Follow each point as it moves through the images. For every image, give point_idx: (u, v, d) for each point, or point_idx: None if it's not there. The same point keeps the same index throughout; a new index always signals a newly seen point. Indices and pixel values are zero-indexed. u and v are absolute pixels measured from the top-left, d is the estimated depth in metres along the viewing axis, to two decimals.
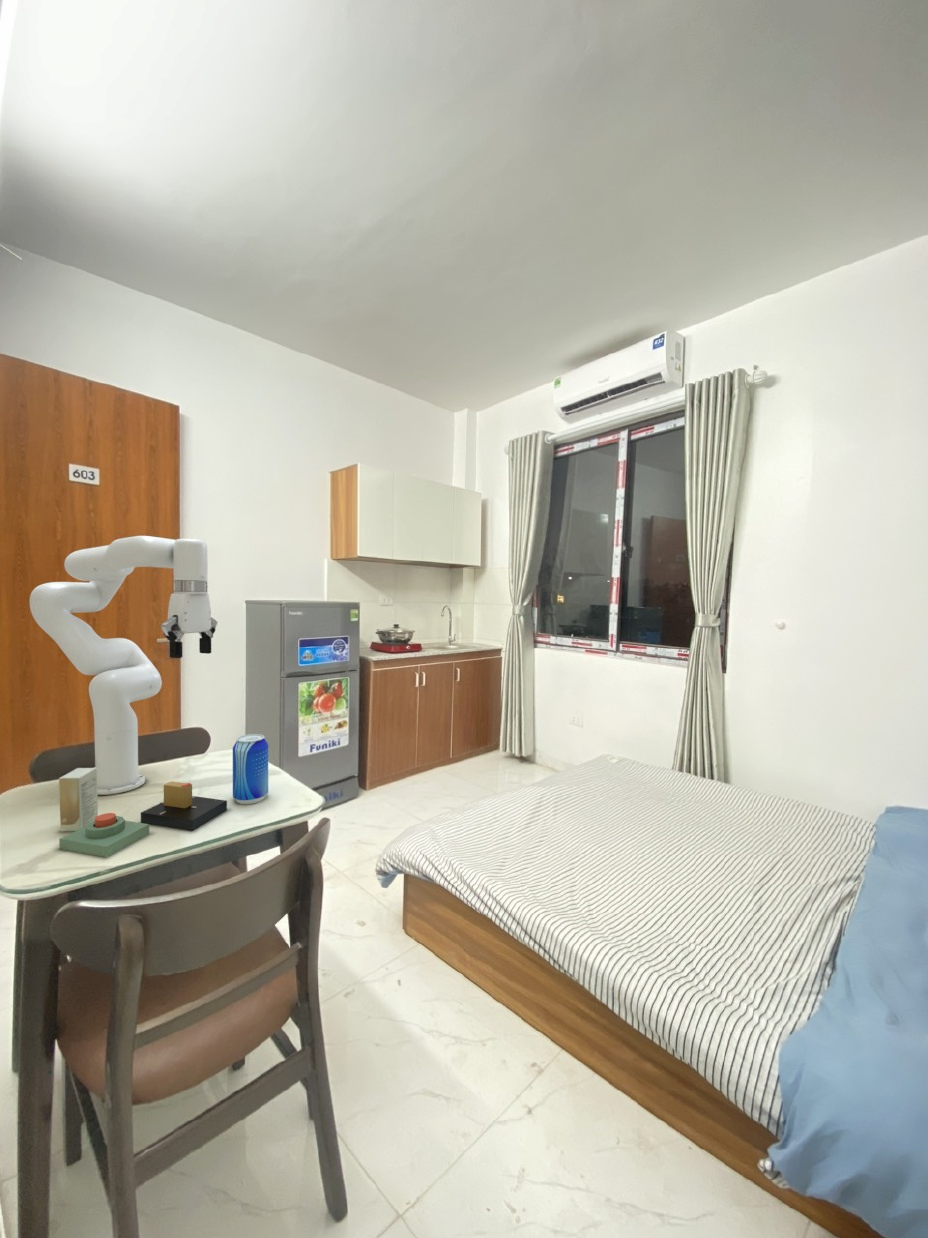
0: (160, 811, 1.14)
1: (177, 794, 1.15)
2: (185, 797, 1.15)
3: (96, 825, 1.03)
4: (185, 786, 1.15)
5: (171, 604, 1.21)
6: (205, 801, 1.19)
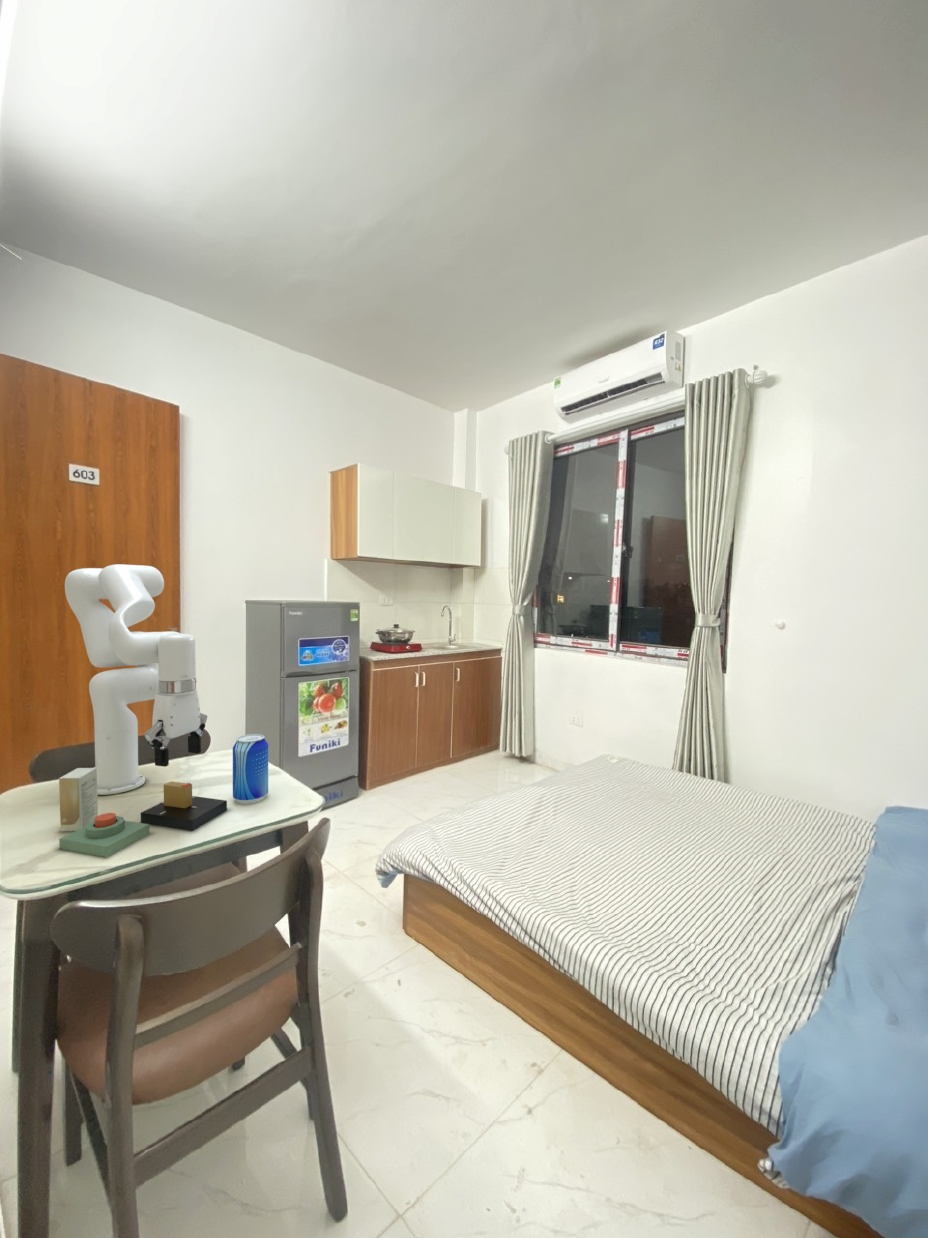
0: (160, 811, 1.14)
1: (177, 794, 1.15)
2: (185, 797, 1.15)
3: (96, 825, 1.03)
4: (185, 786, 1.15)
5: (156, 708, 1.11)
6: (205, 801, 1.19)
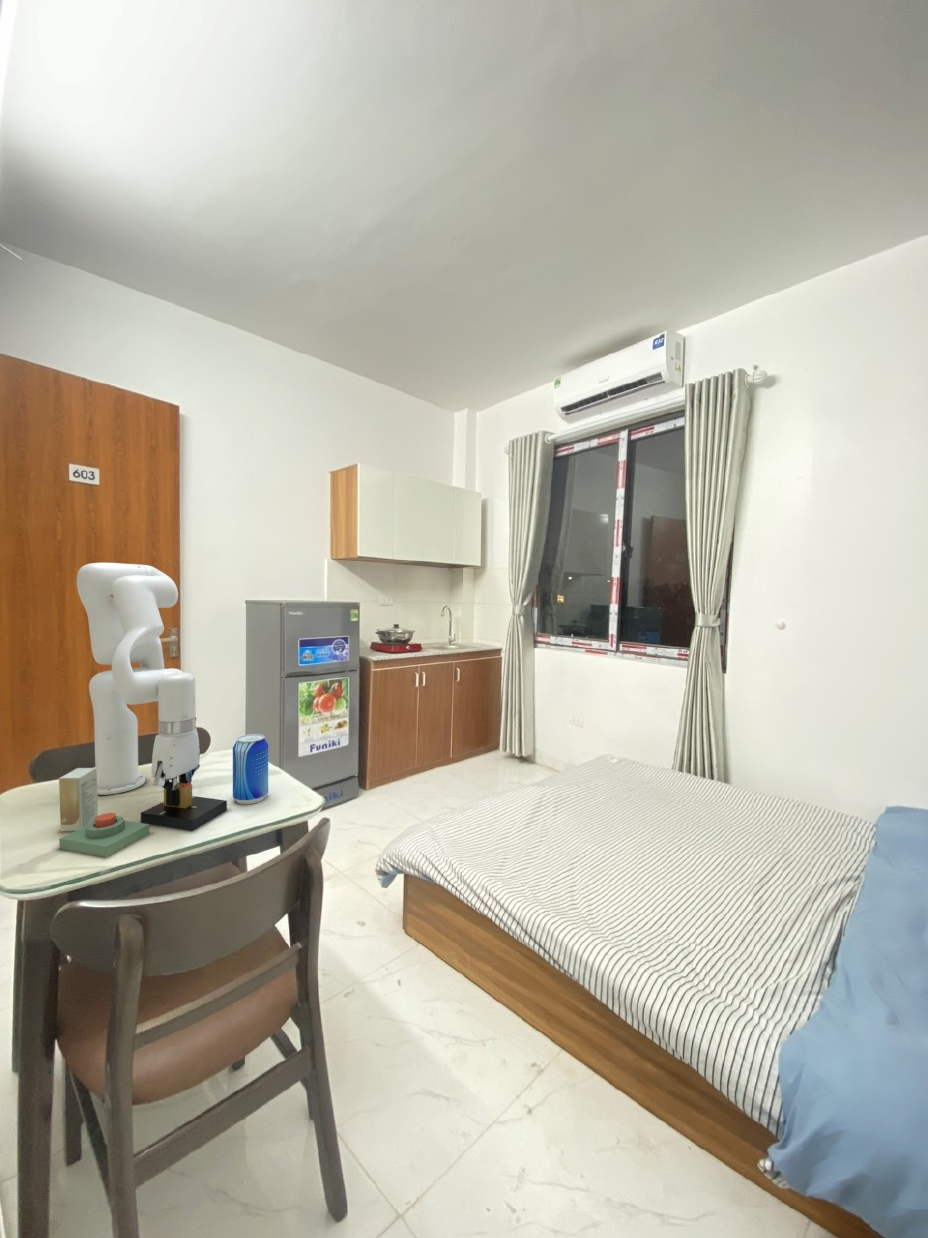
0: (160, 811, 1.14)
1: None
2: (185, 797, 1.15)
3: (96, 825, 1.03)
4: (185, 786, 1.15)
5: (155, 748, 1.12)
6: (205, 801, 1.19)
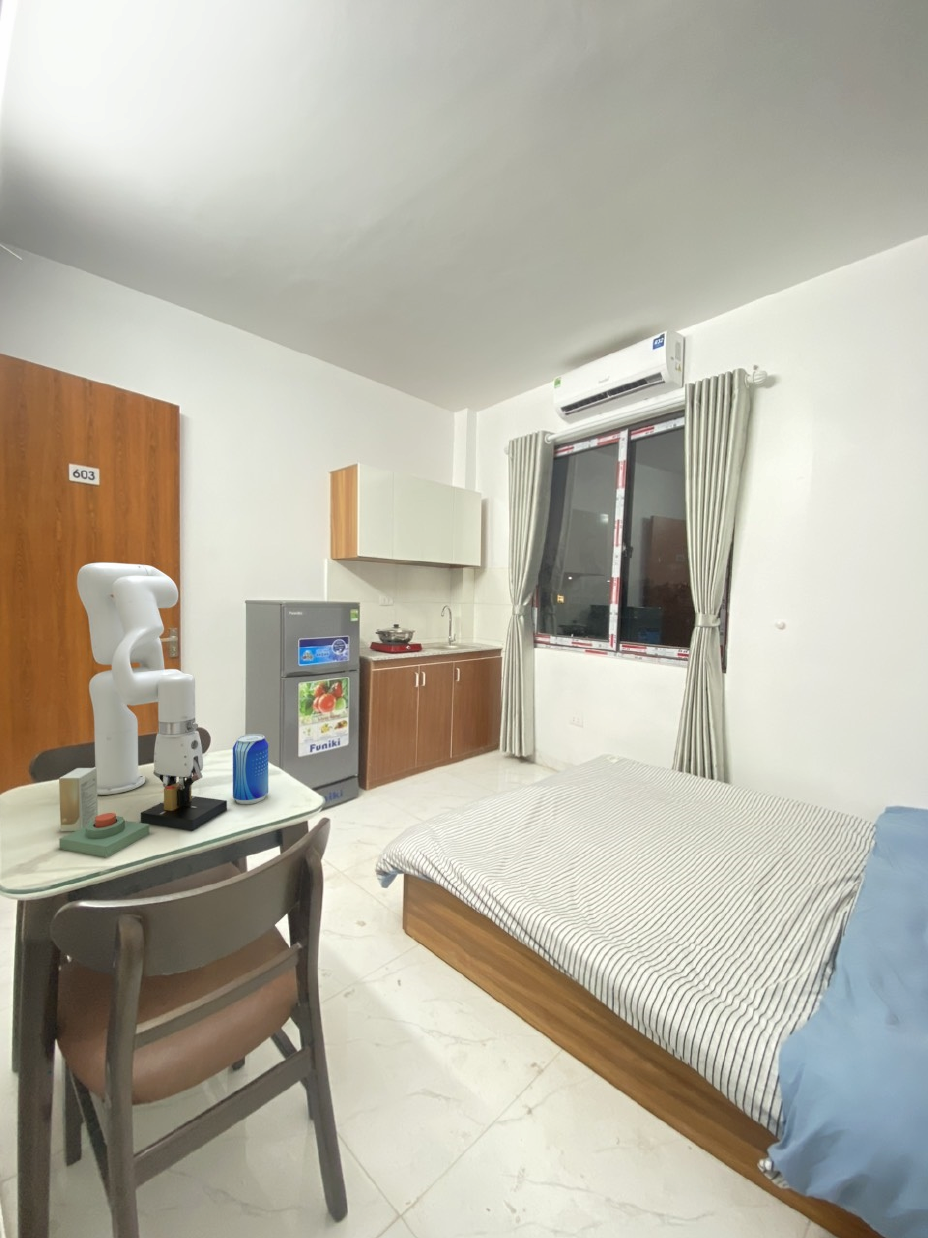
0: (160, 811, 1.14)
1: None
2: (164, 798, 1.14)
3: (96, 825, 1.03)
4: (165, 788, 1.14)
5: None
6: (205, 801, 1.19)
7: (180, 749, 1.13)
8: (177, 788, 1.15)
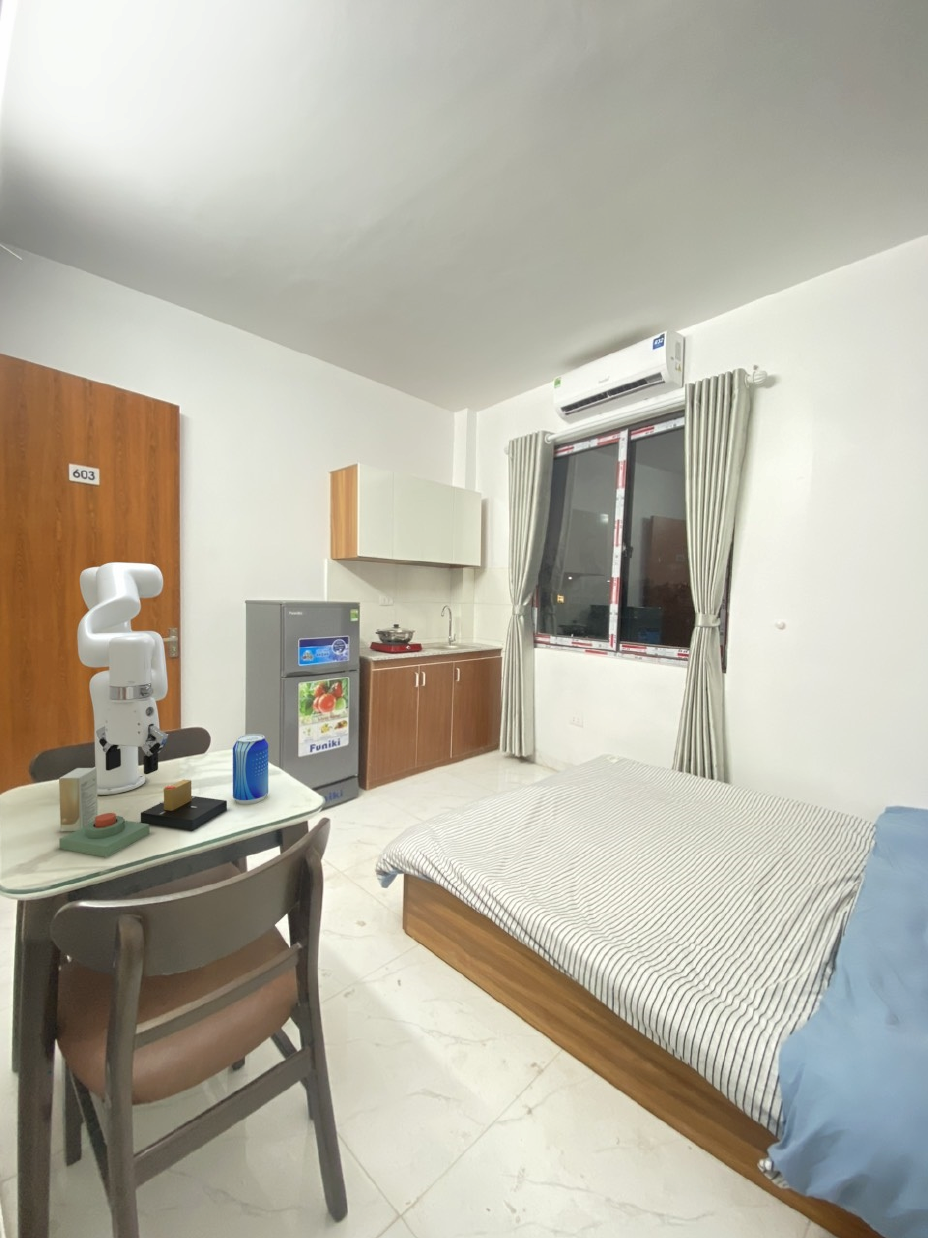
0: (160, 811, 1.14)
1: None
2: (164, 798, 1.14)
3: (96, 825, 1.03)
4: (165, 788, 1.14)
5: None
6: (205, 801, 1.19)
7: (133, 716, 1.04)
8: (177, 788, 1.15)
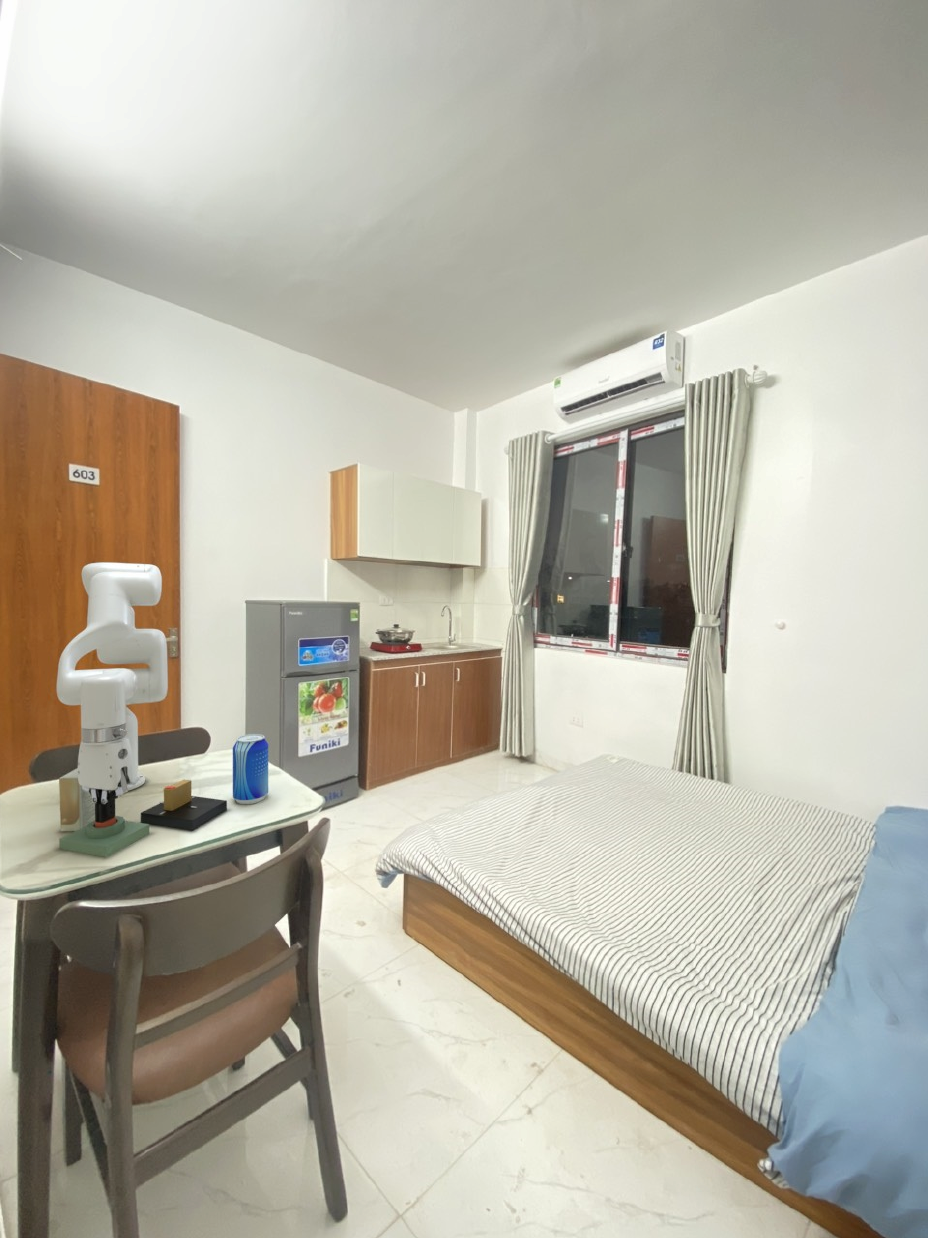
0: (160, 811, 1.14)
1: None
2: (164, 798, 1.14)
3: (96, 827, 1.03)
4: (165, 788, 1.14)
5: None
6: (205, 801, 1.19)
7: (105, 759, 1.01)
8: (177, 788, 1.15)
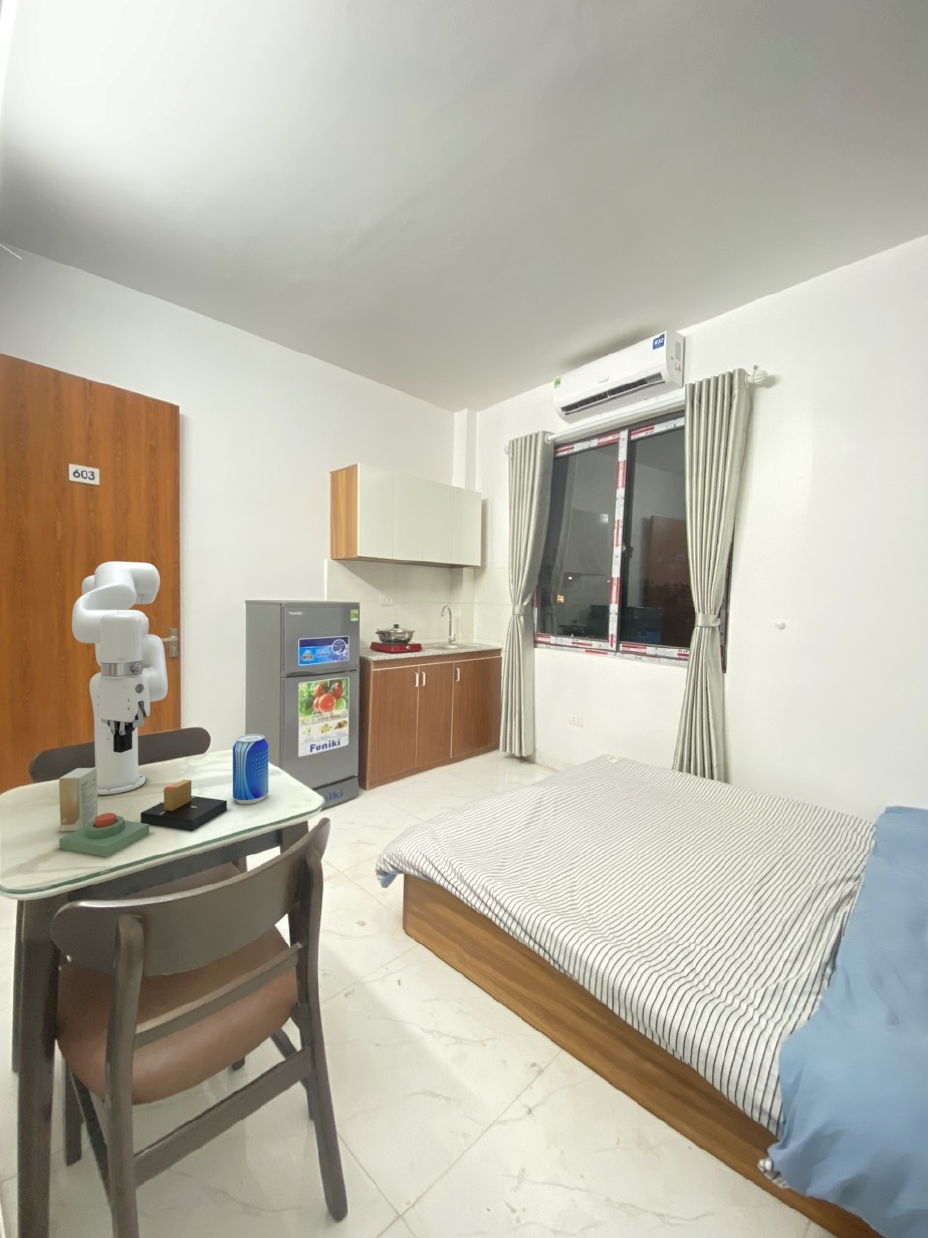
0: (160, 811, 1.14)
1: None
2: (164, 798, 1.14)
3: (96, 825, 1.03)
4: (165, 788, 1.14)
5: None
6: (205, 801, 1.19)
7: (123, 692, 1.06)
8: (177, 788, 1.15)
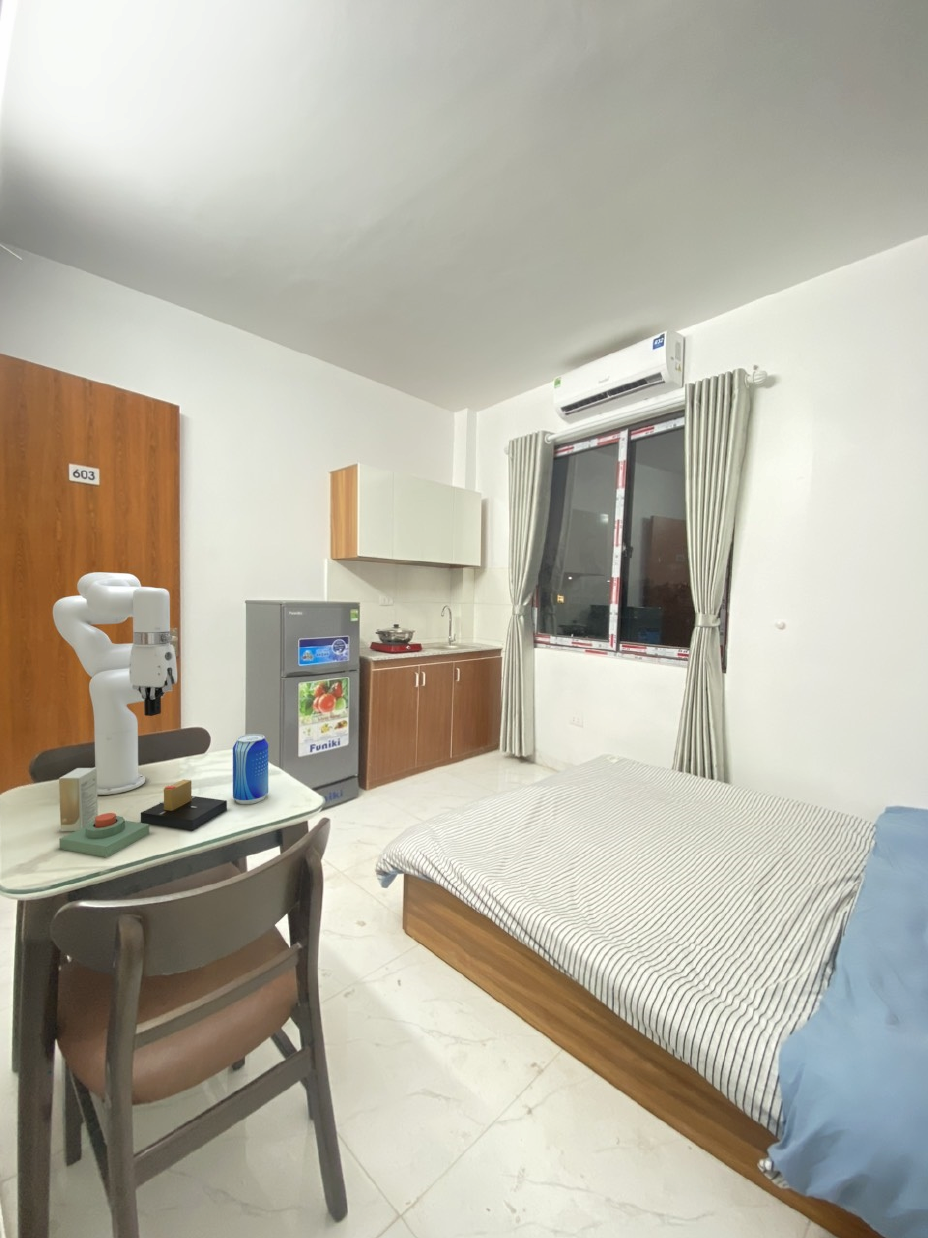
0: (160, 811, 1.14)
1: None
2: (164, 798, 1.14)
3: (96, 825, 1.03)
4: (165, 788, 1.14)
5: None
6: (205, 801, 1.19)
7: (154, 659, 1.16)
8: (177, 788, 1.15)
